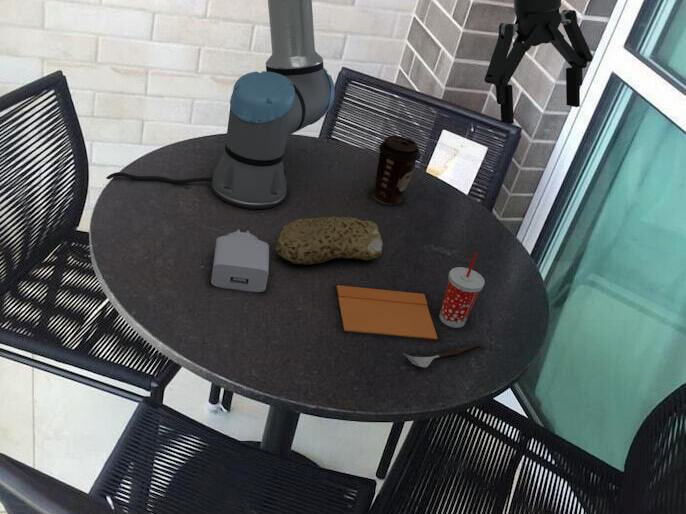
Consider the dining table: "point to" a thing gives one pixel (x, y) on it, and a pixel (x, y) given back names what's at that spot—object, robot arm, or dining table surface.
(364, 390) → the dining table surface
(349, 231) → the sponge
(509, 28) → the robot arm
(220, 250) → the charger
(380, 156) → the coffee cup
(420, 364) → the fork
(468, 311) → the beverage cup
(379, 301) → the cloth
